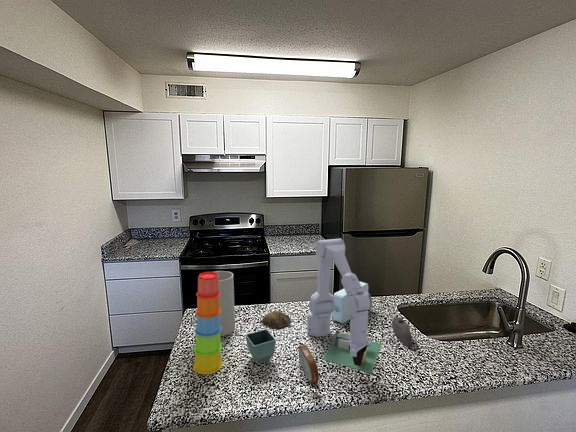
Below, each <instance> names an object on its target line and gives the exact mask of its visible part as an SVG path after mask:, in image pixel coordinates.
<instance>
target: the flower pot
mask: <svg viewBox="0 0 576 432" xmlns="http://www.w3.org/2000/svg"><path fill="white" fill-rule="evenodd" d="M245 338H246V344H247V348H248V352H249V353H250V355H251V356H252V358H253V360H254V361H255V362H256V364H257V365H259V364H261V363H265V362H268V361H270V360H271V359H272V358H273V356H274V353H275V350H276V349H275V348H276V341H277V340H276V338H275V336H273V334H272V333H271V332H270V331H269V330H268V329H267V328H264V329H261V330H258V331H254V332H250V333H247V334H245Z"/></svg>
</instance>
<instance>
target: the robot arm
mask: <svg viewBox="0 0 576 432" xmlns="http://www.w3.org/2000/svg"><path fill="white" fill-rule="evenodd" d="M315 257H317V258H318V260H317V263H318V264H317V286H316V291H315V292H314V293H313V294H312V295H311V296H310V301H309V303H308V308H309V312H308V315H307V321H306V322H307V323H306V335H308V336H312V337H314V338H315V337H316V338H319V337H325V336H326V337H327V336H329V335H330V333H331V315H332V316H333V311H334V309H335V303H334V297H333V294H331V293H330V283H331V281H330V280H331V262H332V261H333V263H334V264H335V266H336V268H337V270H338V271H339V273H340V275H341V281H340V282H341V284H342V286H343V289H345V291H346V294H347V296H348V300H347V303H348V307H349V314H350V315H351V319H349V320H350V327H349V334H350V338H349V342H350V345H349V350H350V356H353V361H354V365H357V366H361V363H362V360H363V355H364V353H365V351H366V348H367V346H370V344H371V341H369V340H367V339H368V332H369V331H368V330H369V329H368V326H369V310H371V309H372V308H373V299H372V296H371V294H370V293H369V291H368V292H366V291H365V289H364V290H363V288H362V286H361V284H360V282H361V281H360V282H359V279H358V276H357V275H356V274H355V273H354V272H352V270H351V268H350V265H349V262H348V260H347V257H346V244H345V241H344V240H343V239H342V238H341V237H339V238H333V239H332V238H331V239H318V241H316V244H315Z"/></svg>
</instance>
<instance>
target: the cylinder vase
mask: <svg viewBox="0 0 576 432" xmlns="http://www.w3.org/2000/svg"><path fill="white" fill-rule="evenodd" d="M214 272H215V273H217V274H218V276H219V291H220V295H219V308H220V309H221V313H220V326H221V331H220V337H224V336H225V337H226V336H227V335H230V334H231V333H233V332H235V331H234V330H235V328H236V318H235V317H236V316H235V290H234V289H235V286H234V273H233V272H231V271H227V270H226V271H225V270H216V271H214Z"/></svg>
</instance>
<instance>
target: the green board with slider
mask: <svg viewBox="0 0 576 432" xmlns="http://www.w3.org/2000/svg"><path fill="white" fill-rule="evenodd" d="M336 332H339V334H344V335H348V336H350V333H347V332H342V333H340V330H339V329H335V333H336ZM349 345H350V342H349V341H347V340H343V339H338V338H336V336H334V335H331V345H330V346H329V348H328V349H327V351H326V352H325V354H324V355H323V357H322V360H325V361H327V362H331V363H335V364H337V365H342V366H345V367H348V368H352V369H355V370H359V371H362V372H366V373H369V374H372V373H373V370H374V367H375V364H376V362H377V359H378V356H379V353H380V350H381V347H382V345H383V344H382V343H380V342H378V341H373V340H372V343H371V345H370V347H369V346H368V349H367V361H366V364H365V366H364V365H361V366H357V365H354V361H353V356H350V350H349Z"/></svg>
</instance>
